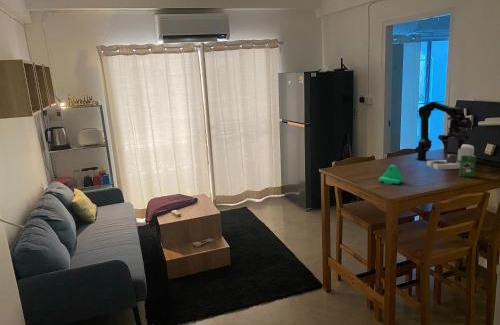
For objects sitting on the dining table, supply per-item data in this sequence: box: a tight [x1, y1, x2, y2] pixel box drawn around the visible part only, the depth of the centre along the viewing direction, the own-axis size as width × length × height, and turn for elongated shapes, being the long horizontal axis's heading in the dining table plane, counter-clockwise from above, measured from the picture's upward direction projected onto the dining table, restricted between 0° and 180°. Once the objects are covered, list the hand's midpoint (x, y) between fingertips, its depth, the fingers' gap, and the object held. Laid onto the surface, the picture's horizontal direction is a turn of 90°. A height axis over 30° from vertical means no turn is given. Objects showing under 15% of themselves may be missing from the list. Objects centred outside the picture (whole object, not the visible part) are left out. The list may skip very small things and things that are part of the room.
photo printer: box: [457, 143, 475, 162], centre depth 267 cm, size 10×4×12 cm, turn 39°
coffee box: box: [458, 155, 477, 178], centre depth 229 cm, size 8×3×13 cm, turn 77°
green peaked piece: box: [378, 164, 404, 185], centre depth 223 cm, size 12×8×10 cm, turn 49°
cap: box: [446, 153, 458, 163], centre depth 254 cm, size 6×6×5 cm
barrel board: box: [426, 159, 461, 171], centre depth 255 cm, size 14×18×3 cm
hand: (452, 149), depth 253 cm, fingers open, 9 cm apart
